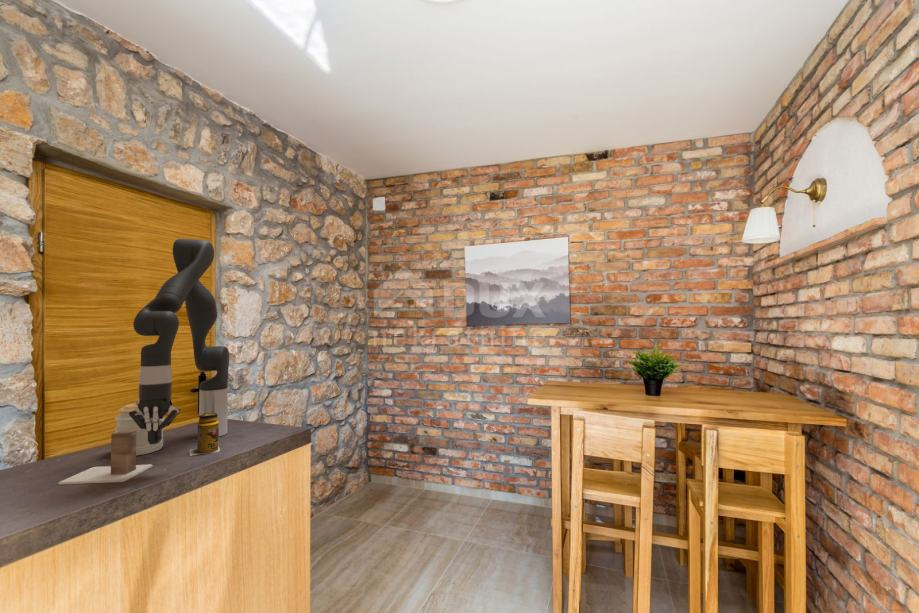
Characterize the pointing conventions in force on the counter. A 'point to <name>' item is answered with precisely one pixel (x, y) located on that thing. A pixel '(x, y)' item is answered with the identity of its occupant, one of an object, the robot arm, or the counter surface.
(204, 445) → the condiment
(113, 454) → the block
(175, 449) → the counter surface
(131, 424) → the jar
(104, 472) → the mat
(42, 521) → the counter surface
